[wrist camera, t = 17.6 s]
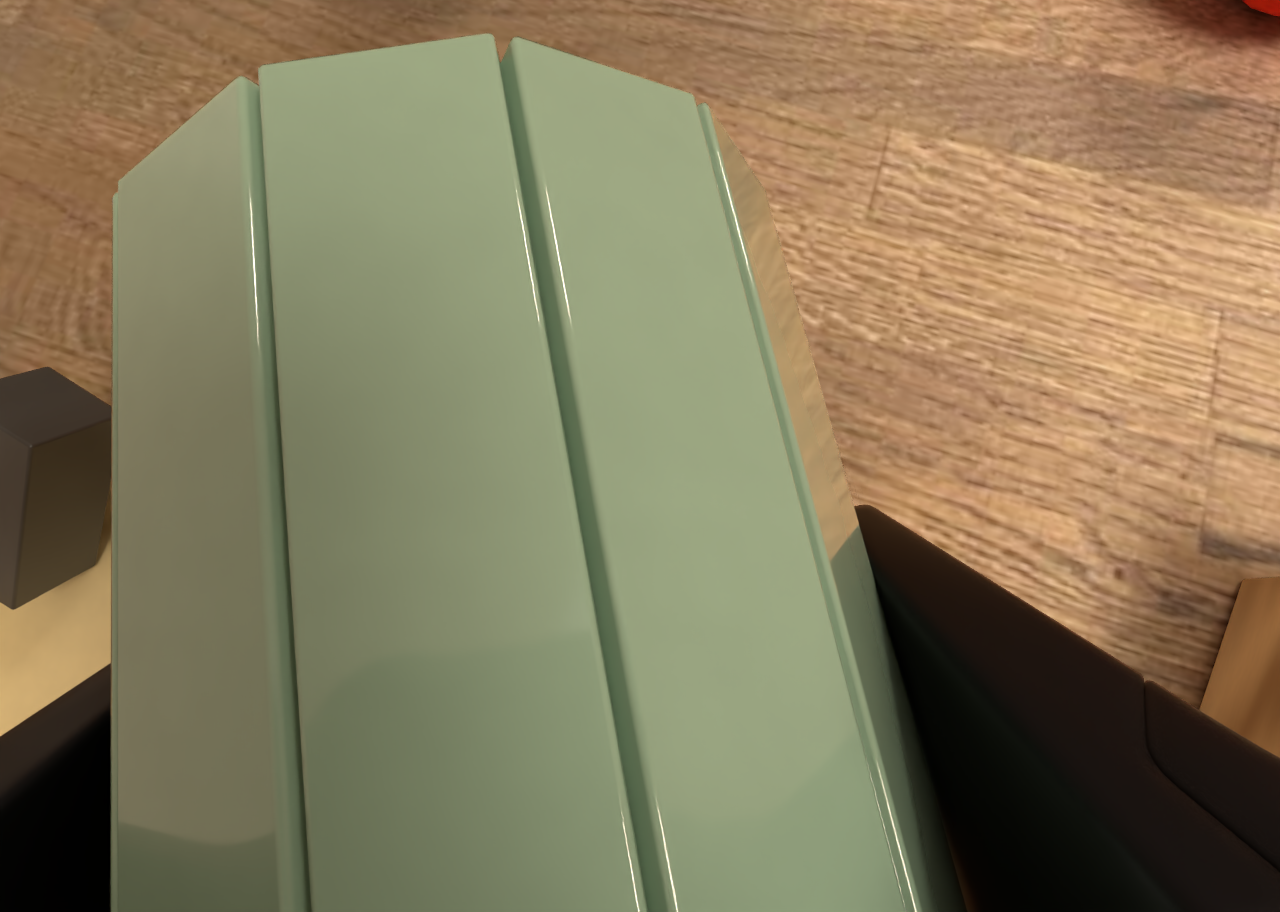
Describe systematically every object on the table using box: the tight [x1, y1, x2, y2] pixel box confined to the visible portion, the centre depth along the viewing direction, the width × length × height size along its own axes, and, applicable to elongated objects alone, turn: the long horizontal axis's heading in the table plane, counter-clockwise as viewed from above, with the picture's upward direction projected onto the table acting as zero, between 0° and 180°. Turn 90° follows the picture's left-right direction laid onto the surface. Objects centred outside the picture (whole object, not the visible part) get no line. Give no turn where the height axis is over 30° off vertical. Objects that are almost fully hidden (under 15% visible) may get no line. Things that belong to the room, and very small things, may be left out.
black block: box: [0, 367, 111, 610], centre depth 18 cm, size 6×2×2 cm
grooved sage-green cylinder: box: [110, 33, 967, 912], centre depth 7 cm, size 11×7×7 cm, turn 11°
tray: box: [0, 483, 111, 736], centre depth 19 cm, size 15×13×3 cm
